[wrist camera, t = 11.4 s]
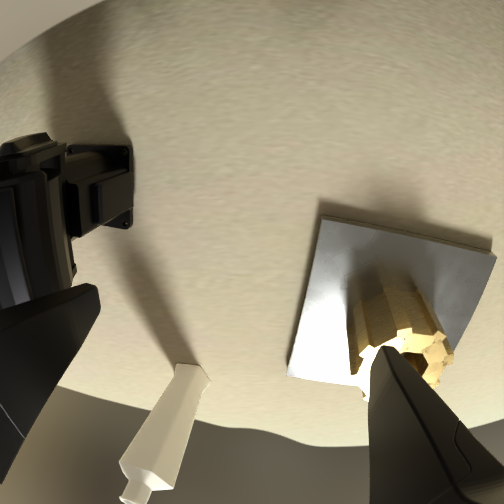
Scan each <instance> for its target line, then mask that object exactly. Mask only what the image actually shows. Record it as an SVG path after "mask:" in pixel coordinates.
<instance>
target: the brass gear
mask: <svg viewBox="0 0 504 504" xmlns="http://www.w3.org/2000/svg"><path fill="white" fill-rule="evenodd" d="M353 313H354V319H355V320H354V323H353V326H352V328H346V332H347V342H348V354H349V366H350V378H351V385H355V384H358V385H359V386H360V387H361V388H362V391H363V399H364V400H366V401H369V376H370V367H371V364H372V362H373V360H374V358H375V356H376V353H377V351H378V349H379V347H380V346H382V345H387V346H393V347H395V348H396V349H397V350H398V351H399V352H400V353H403V352H406V353H405V354H404V355H403V357H404V358H405V359H406V360H407V361H408V362H409V363H410V364H411V365H412V366H413V368H414V369H415V370H416V371H417V372H418V373H419V374H420V375H421V376H422V378H423V379H424V380H425V381H426V382H427V383H428V384H429V385H430V386H431V388H432V389H434V388H435V387H436V386H437V385H438V384H440V381H439V377H440V375H441V373H442V372H443V370H444V369H445V367H446V365H449V364H452V363H453V357H454V353H453V351H452V349H451V346H450V344H449V342H448V340H447V338H446V337H447V336H446V334H445V332H444V330H443V328H442V326H441V323H440V321H439V319H438V317H437V315H436V313H435V311H434V309H433V308H432V306H431V304H430V302H429V300H428V298H427V296H426V294H425V293H423V292H422V291H421V290H419V289H418V288H417V289H416V290H415V292H414V293H412V292H406V291H400V290H397V288H396V286H395V284H394V285H389V286H384V287H383V293H381V294H379V295H377V296H376V297H374V298H372V299H370V300H369V301H367V302H363V301H362V300H360V301H359V302H358V303H357V304H356V306H355V307H354V308H353Z"/></svg>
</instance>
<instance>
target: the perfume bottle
mask: <svg viewBox="0 0 504 504" xmlns="http://www.w3.org/2000/svg"><path fill="white" fill-rule="evenodd" d="M210 383H211V381H210V380H209V378H208V377H207V376H206V374H205V373H204V371H203V370H202V369H201V367H200V366H198V365H189V364H180V363H177V364H176V367H175V372H174V377H173V379H172V380H171V382H170V383H169V385H168V387H167V388H166V390H165V391H164V393H163V394H162V396H161V397H160V399H159V400H158V402H157V404H156V405H155V407H154V408H153V410H152V411H151V413H150V414H149V416H148V418H147V419H146V421H145V422H144V424H143V425H142V427H141V428H140V430H139V431H138V433H137V434H136V436H135V437H134V439H133V440H132V442H131V444H130V445H129V447H128V448H127V450H126V451H125V453H124V454H123V456H122V458H121V459H120V460H119V464H120V466H121V469H122V471H123V473H124V474H125V476H126V477H127V478H128V479H129V482H128V484H127V486H126V488H125V490H124V492H123V494H122V496H120V497H119V498H120V500H121V501H122V502H124V503H126V504H146V503H147V501H148V499H149V497H150V494H151V492H152V490H167V489H173V488H174V485H175V481H176V478H177V474H178V471H179V468H180V465H181V461H182V458H183V455H184V452H185V448H186V445H187V442H188V438H189V435H190V431H191V428H192V425H193V422H194V419H195V415H196V412H197V409H198V406H199V402H200V399H201V396H202V393H203V392H204V390H205V389H206V388H207V387H208V386H209V385H210Z"/></svg>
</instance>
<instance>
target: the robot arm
mask: <svg viewBox="0 0 504 504" xmlns="http://www.w3.org/2000/svg"><path fill="white" fill-rule="evenodd" d="M72 149H73V153H72ZM125 149H126V150H127V154H125V153H124V150H125ZM65 152H66V143H58V141H53V140H51V139H50V137H49V136H48V134H47V133H46V132H43V133H36V134H31V135H26V136H22V137H18V138H15V139H13V140H10V141H7V142H5V143H3V144H2V145H1V146H0V484H2V483H3V481H4V479H5V477H6V475H7V473H8V471H9V469H10V467H11V465H12V463H13V461H14V459H15V457H16V455H17V453H18V452H19V450H20V448H21V446H22V444H23V442H24V440H25V439H24V438H26V436H27V434H28V433H29V431H30V429H31V427H32V426H33V424H34V422H35V420H36V418H37V417H38V415H39V413H40V412H41V410H42V408H43V406H44V405H45V403H46V402H47V400H48V398H49V397H50V395H51V393H52V392H53V390H54V388H55V387H56V385H57V384H58V382H59V380H60V379H61V377H62V376H63V374H64V373H65V371H66V369H67V368H68V366H69V365H70V363H71V362H72V360H73V359H74V357H75V356H76V354H77V353H78V351H79V349H80V348H81V346H82V344H83V343H84V341H85V339H86V337H87V335H88V333H89V331H90V330H91V328H92V326H93V324H94V322H95V320H96V319H97V317H98V315H99V313H100V310H101V305H100V299H99V293H98V289H97V287H96V286H95V285H92V284H89V283H84V284H81V285H77V286H74V287H71V286H72V281H73V278H74V276H75V274H76V273H77V268H76V264H75V263H74V258H73V251H72V244H71V241H73V240H75V239H76V238H80V237H82V236H84V235H85V234H87V233H89V232H90V231H92V230H94V229H95V228H97V227H99V226H100V225H103V226H109V227H114V228H120V229H128V228H130V227H131V226H132V224H133V214H132V207H133V174H132V148H131V146H129V145H117V144H73V145H69V146H68V147H67V156H66V157H65ZM125 221H127V224H126V223H125ZM70 287H71V288H70ZM368 431H369V459H370V501H369V504H504V466H503V465H502V464H501V463H500V462H499V461H498V460H497V459H496V458H495V457H494V456H493V455H492V454H491V453H490V452H489V451H488V450H487V449H486V448H485V447H484V446H483V445H482V444H481V443H480V442H479V441H478V440H477V439H476V437H475V436H474V435H473V434H472V433H471V432H470V431H469V430H468V429H467V427H466V426H465V425H464V424H463V423H462V422H461V421H459V418H458V417H457V416H456V415H455V414H454V412H453V411H452V410H451V409H450V408H449V407H448V406H447V404H446V403H445V402H444V401H443V400H442V399H441V398H440V397H439V395H438V394H437V393H436V392H435V391H434V390H433V389H432V388H431V386H430V385H429V384H428V383H427V382H426V381H425V380H424V379H423V378H422V376H421V375H420V374H419V373H418V372H417V371H416V370H415V369H414V368H413V366H412V365H411V364H410V363H409V362H408V361H407V360H406V359H405V358H404V357H403V356H402V355H401V353H400V352H399V351H398V350H397V349H396V348H395V347H393V346H387V345H382V346H380V347H379V349H378V351H377V353H376V356H375V358H374V360H373V362H372V364H371V367H370V376H369V401H368Z"/></svg>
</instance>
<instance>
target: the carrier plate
mask: <svg viewBox="0 0 504 504" xmlns="http://www.w3.org/2000/svg"><path fill="white" fill-rule="evenodd" d="M496 259H497V256H495V255H494V254H493V253H492V252H490V251H487V250H483V249H479V248H475V247H471V246H467V245H463V244H459V243H454V242H450V241H446V240H442V239H437V238H433V237H429V236H424V235H420V234H415V233H411V232H406V231H402V230H397V229H392V228H387V227H383V226H378V225H373V224H368V223H363V222H358V221H353V220H347V219H342V218H337V217H331V216H326V215H322V217H321V222H320V227H319V232H318V237H317V242H316V247H315V252H314V257H313V262H312V266H311V271H310V276H309V280H308V285H307V289H306V294H305V298H304V302H303V307H302V311H301V315H300V319H299V323H298V328H297V332H296V336H295V340H294V344H293V348H292V351H291V355H290V359H289V363H288V367H287V373H286V376H291V377H297V378H304V379H310V380H317V381H324V382H331V383H339V384H348V385H351V378H350V366H349V354H348V342H347V332H346V328H352V326H353V323H354V320H355V319H354V313H353V308H354V307H355V306H356V304H357V303H358V302H359V301H360V300H362V301H363V302H367V301H369V300H370V299H372V298H374V297H376V296H377V295H379V294H381V293H383V287H384V286H389V285H394V284H395V286H396V288H397V290H400V291H406V292H412V293H414V292H415V290H416V289H417V288H418V289H419V290H421V291H422V292H423V293H425V294H426V296H427V298H428V300H429V302H430V304H431V306H432V308H433V309H434V311H435V313H436V315H437V317H438V319H439V321H440V323H441V326H442V328H443V330H444V332H445V334H446V336H447V337H446V338H447V340H448V342H449V344H450V346H451V349H452V351H454V350H455V348H456V346H457V344H458V342H459V341H460V339H461V337H462V335H463V333H464V331H465V329H466V327H467V325H468V323H469V321H470V319H471V317H472V315H473V313H474V311H475V309H476V307H477V305H478V303H479V300H480V298H481V296H482V294H483V291H484V289H485V287H486V284H487V282H488V280H489V277H490V275H491V272H492V270H493V267H494V264H495V262H496ZM405 353H406V352H403V353H401V355H402V356H403V355H404V354H405ZM355 385H356V386H359V385H358V384H355Z"/></svg>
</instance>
